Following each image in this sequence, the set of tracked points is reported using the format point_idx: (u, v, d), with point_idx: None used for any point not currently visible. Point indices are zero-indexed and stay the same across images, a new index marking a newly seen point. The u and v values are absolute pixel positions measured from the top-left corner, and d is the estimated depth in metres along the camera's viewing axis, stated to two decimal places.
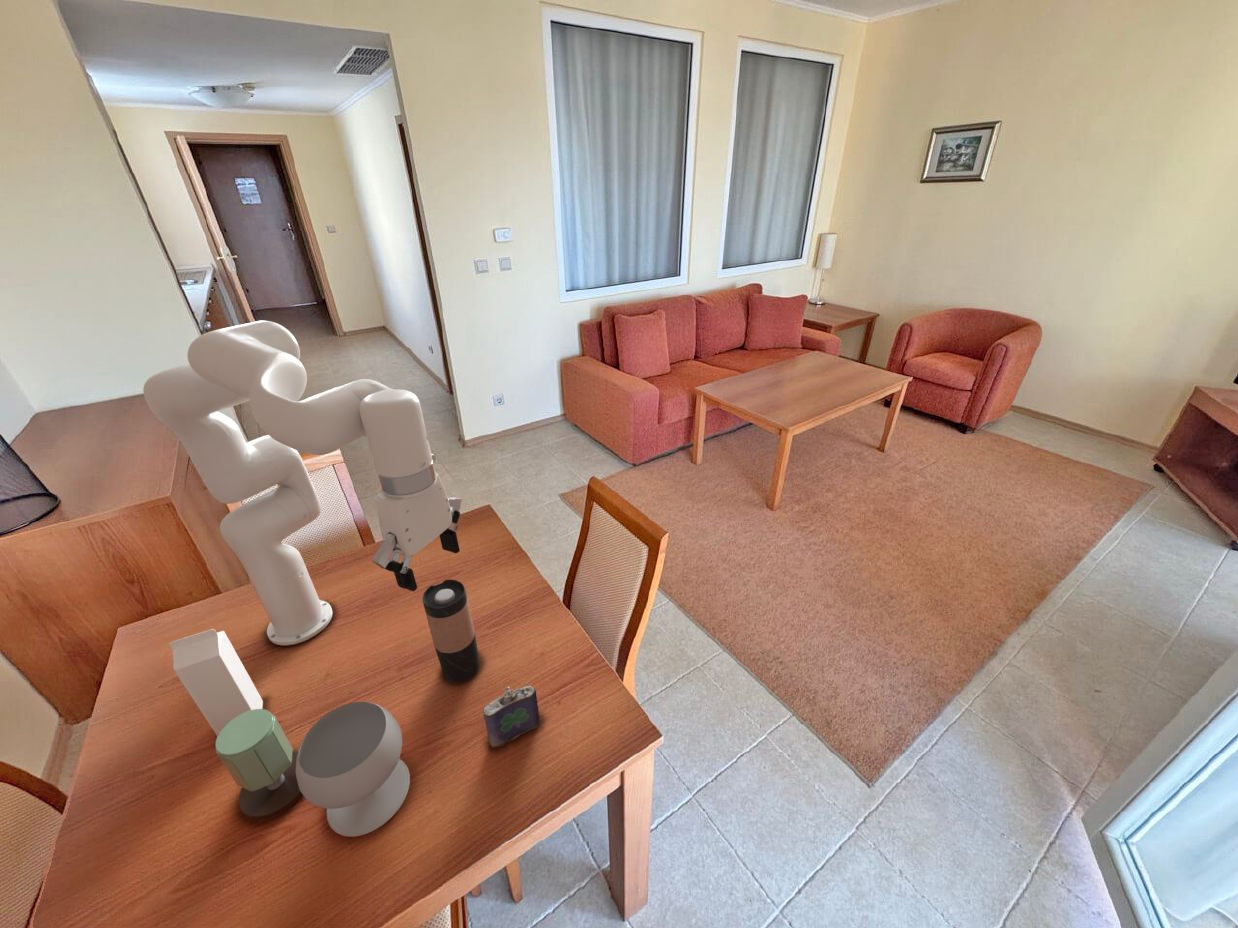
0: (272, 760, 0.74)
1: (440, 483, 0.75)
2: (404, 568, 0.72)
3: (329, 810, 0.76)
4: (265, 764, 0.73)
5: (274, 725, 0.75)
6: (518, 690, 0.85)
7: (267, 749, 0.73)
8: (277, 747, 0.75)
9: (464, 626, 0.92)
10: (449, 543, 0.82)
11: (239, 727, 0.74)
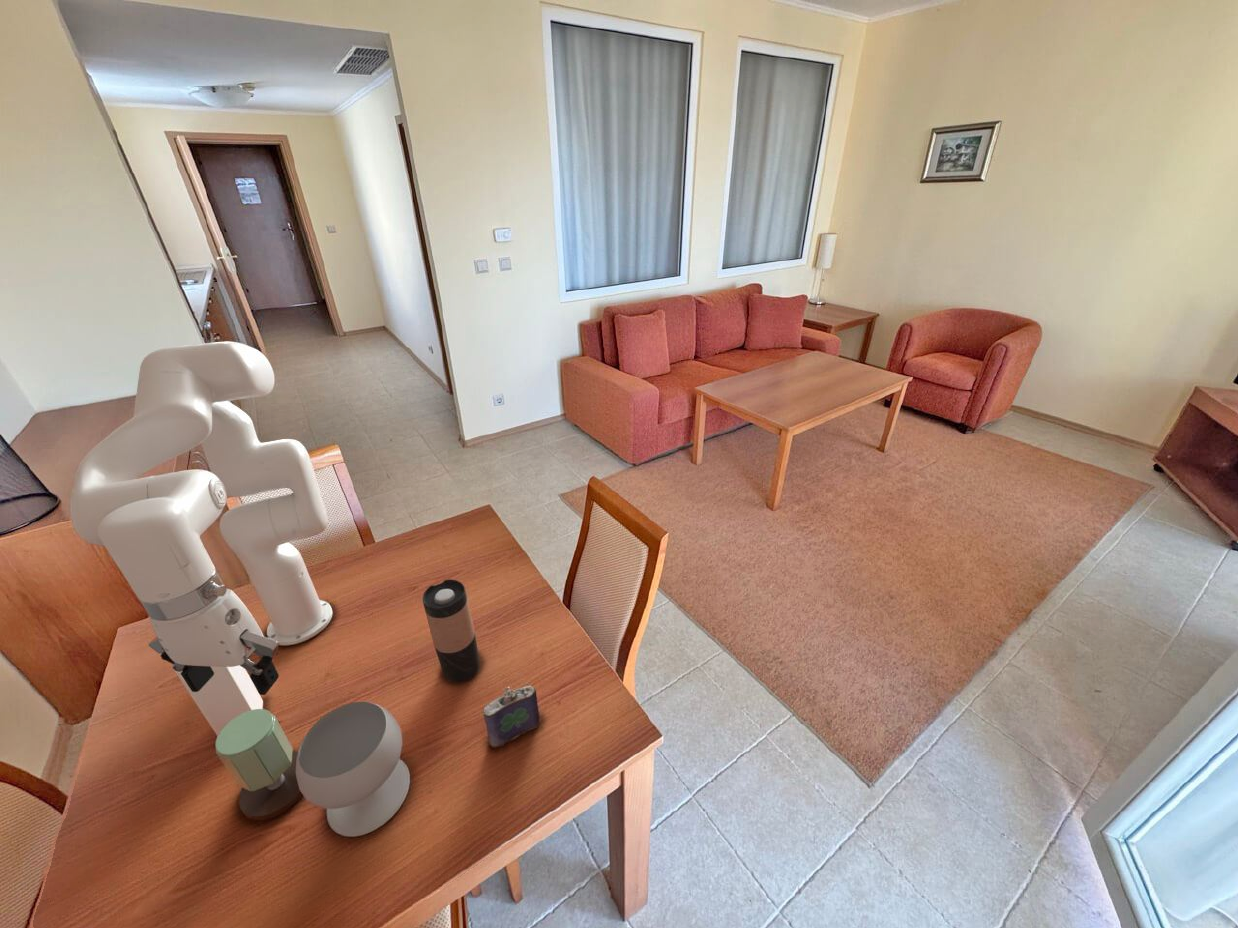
0: (272, 760, 0.74)
1: (208, 622, 0.61)
2: (177, 667, 0.66)
3: (329, 810, 0.76)
4: (265, 764, 0.73)
5: (274, 725, 0.75)
6: (518, 690, 0.85)
7: (267, 749, 0.73)
8: (277, 747, 0.75)
9: (464, 626, 0.92)
10: None
11: (239, 727, 0.74)
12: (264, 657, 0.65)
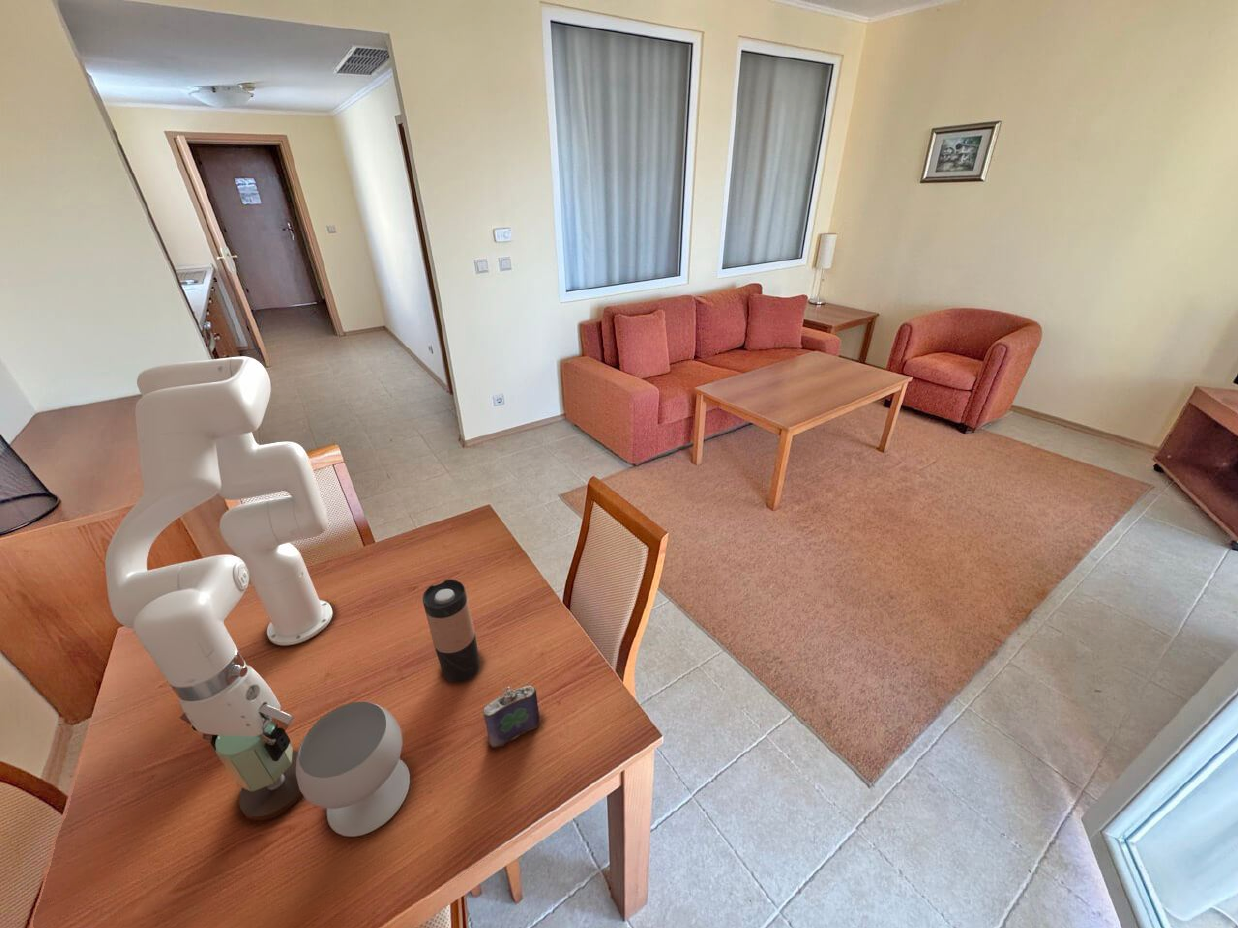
0: (272, 760, 0.74)
1: (231, 700, 0.66)
2: (207, 736, 0.72)
3: (329, 810, 0.76)
4: (265, 764, 0.73)
5: None
6: (518, 690, 0.85)
7: None
8: None
9: (464, 626, 0.92)
10: None
11: None
12: (277, 729, 0.71)
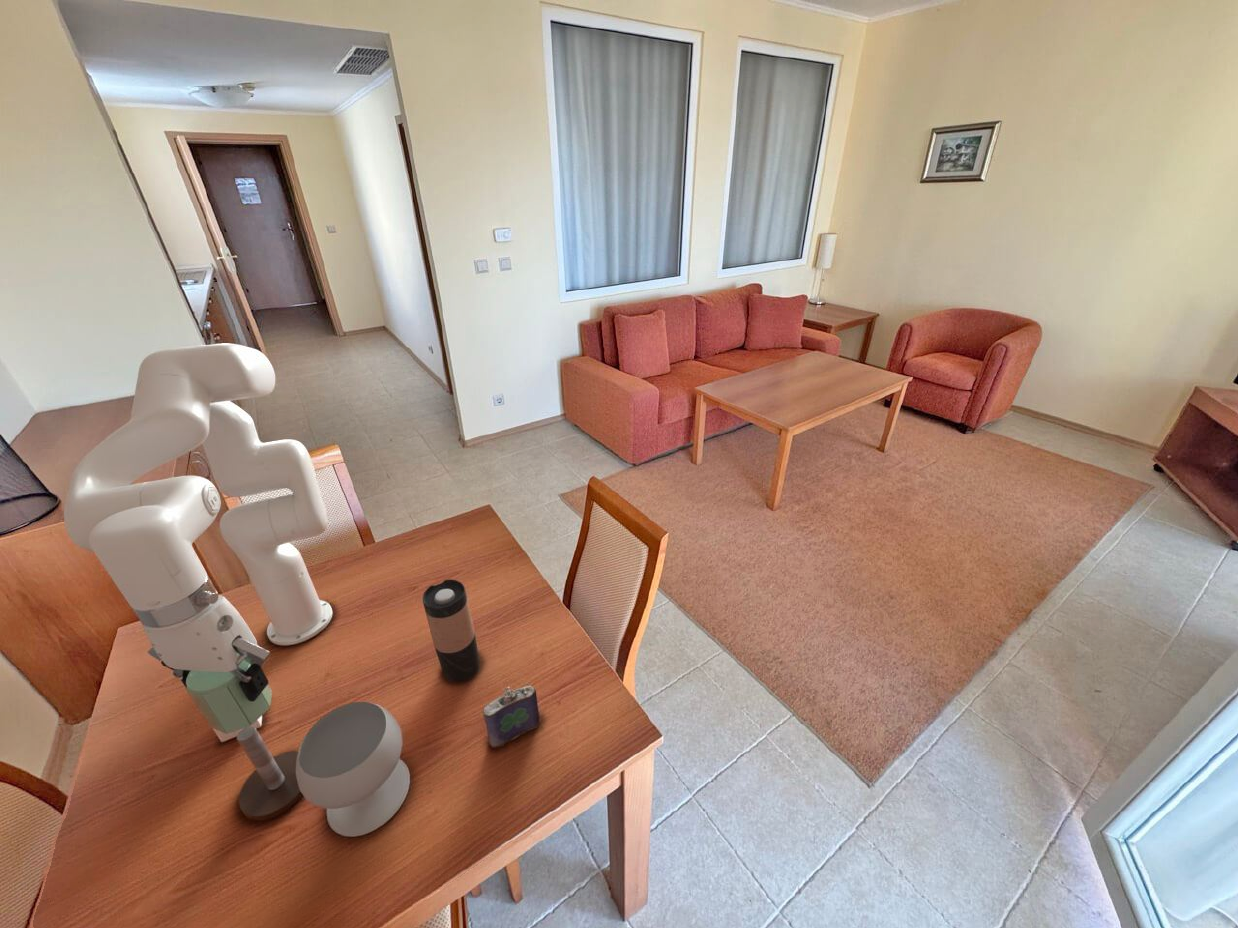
0: (248, 701, 0.69)
1: (200, 629, 0.61)
2: (177, 673, 0.67)
3: (329, 810, 0.76)
4: (240, 704, 0.68)
5: None
6: (518, 690, 0.85)
7: None
8: None
9: (464, 626, 0.92)
10: None
11: None
12: (253, 665, 0.66)
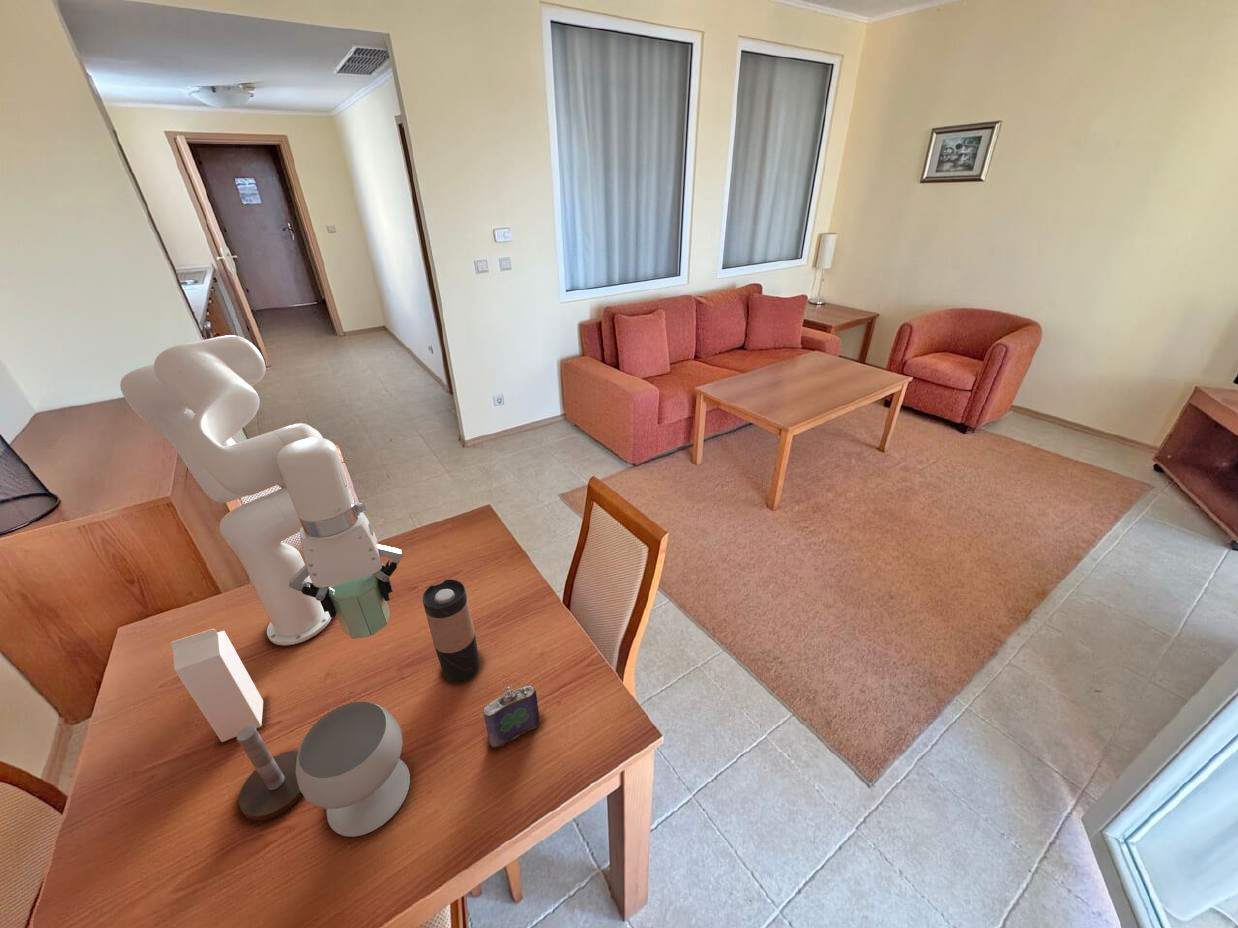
0: (383, 603, 0.84)
1: (362, 533, 0.76)
2: (320, 596, 0.78)
3: (329, 810, 0.76)
4: (380, 605, 0.83)
5: None
6: (518, 690, 0.85)
7: (379, 591, 0.83)
8: None
9: (464, 626, 0.92)
10: None
11: (345, 582, 0.81)
12: (391, 564, 0.82)
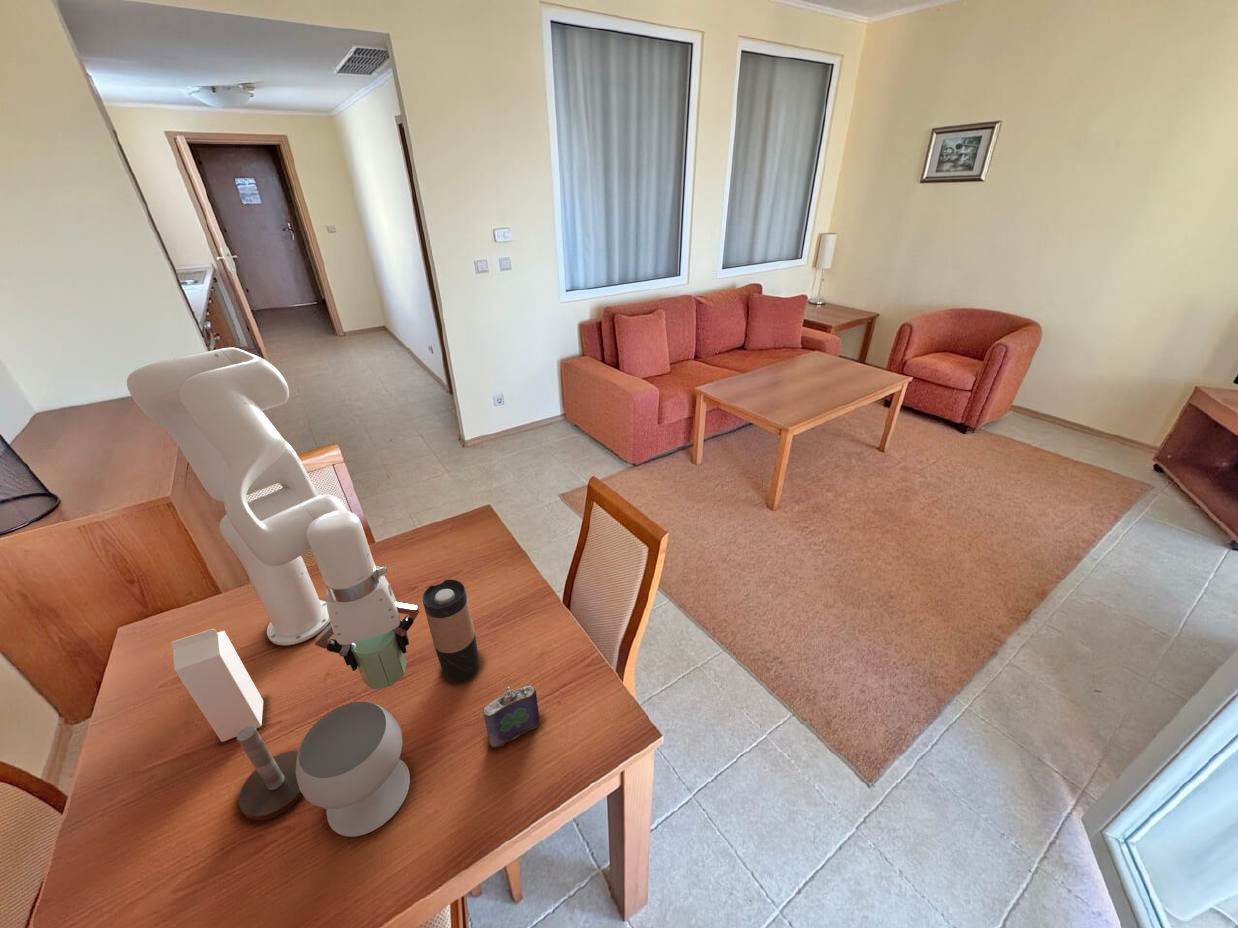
0: (400, 655, 0.90)
1: (382, 595, 0.82)
2: (343, 652, 0.85)
3: (329, 810, 0.76)
4: (398, 657, 0.89)
5: None
6: (518, 690, 0.85)
7: (397, 644, 0.89)
8: None
9: (464, 626, 0.92)
10: None
11: None
12: (408, 619, 0.88)
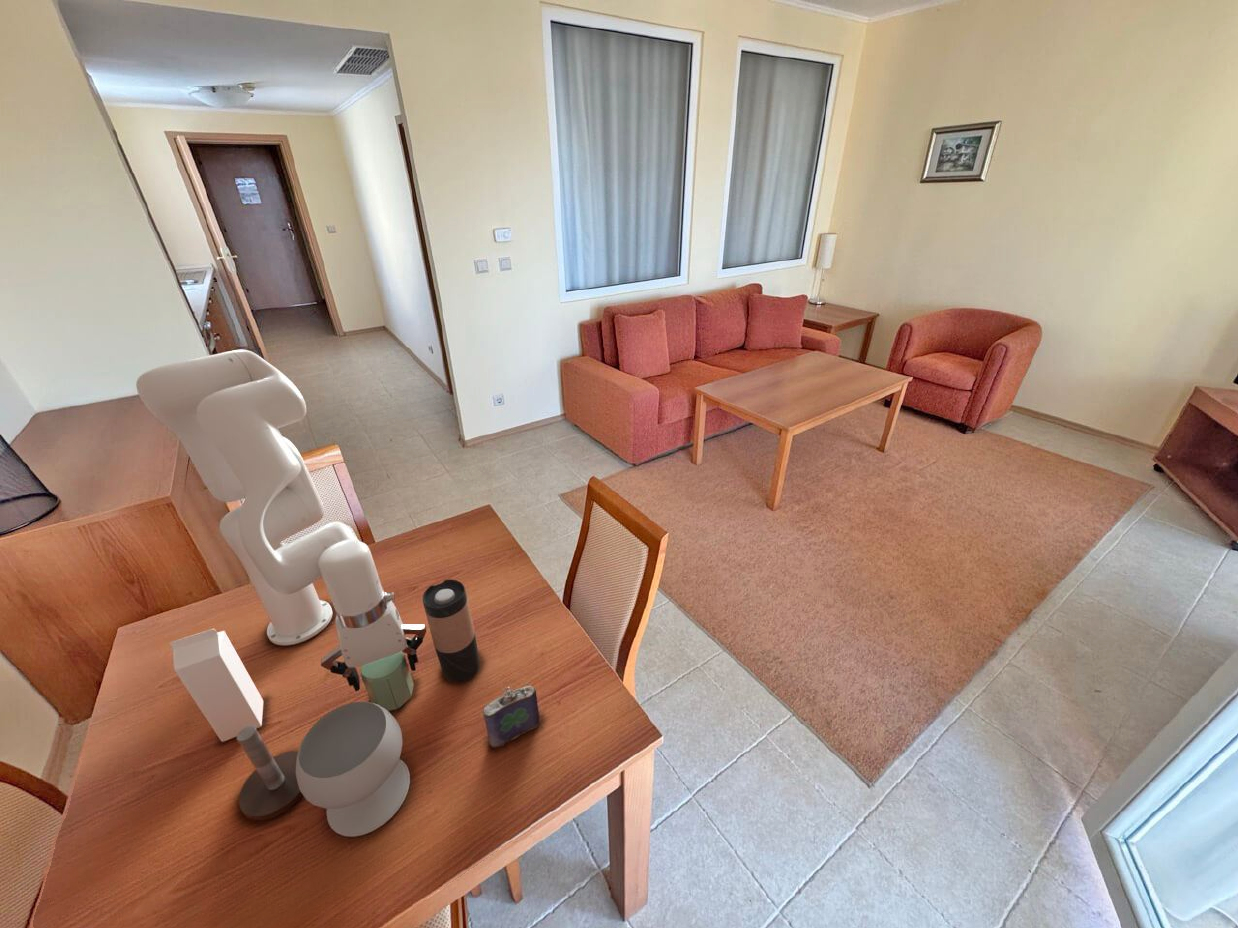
0: (408, 678, 0.93)
1: (390, 620, 0.85)
2: (346, 674, 0.87)
3: (329, 810, 0.76)
4: (406, 681, 0.92)
5: (401, 652, 0.93)
6: (518, 690, 0.85)
7: (405, 668, 0.92)
8: (407, 668, 0.94)
9: (464, 626, 0.92)
10: None
11: (375, 662, 0.90)
12: (418, 638, 0.91)
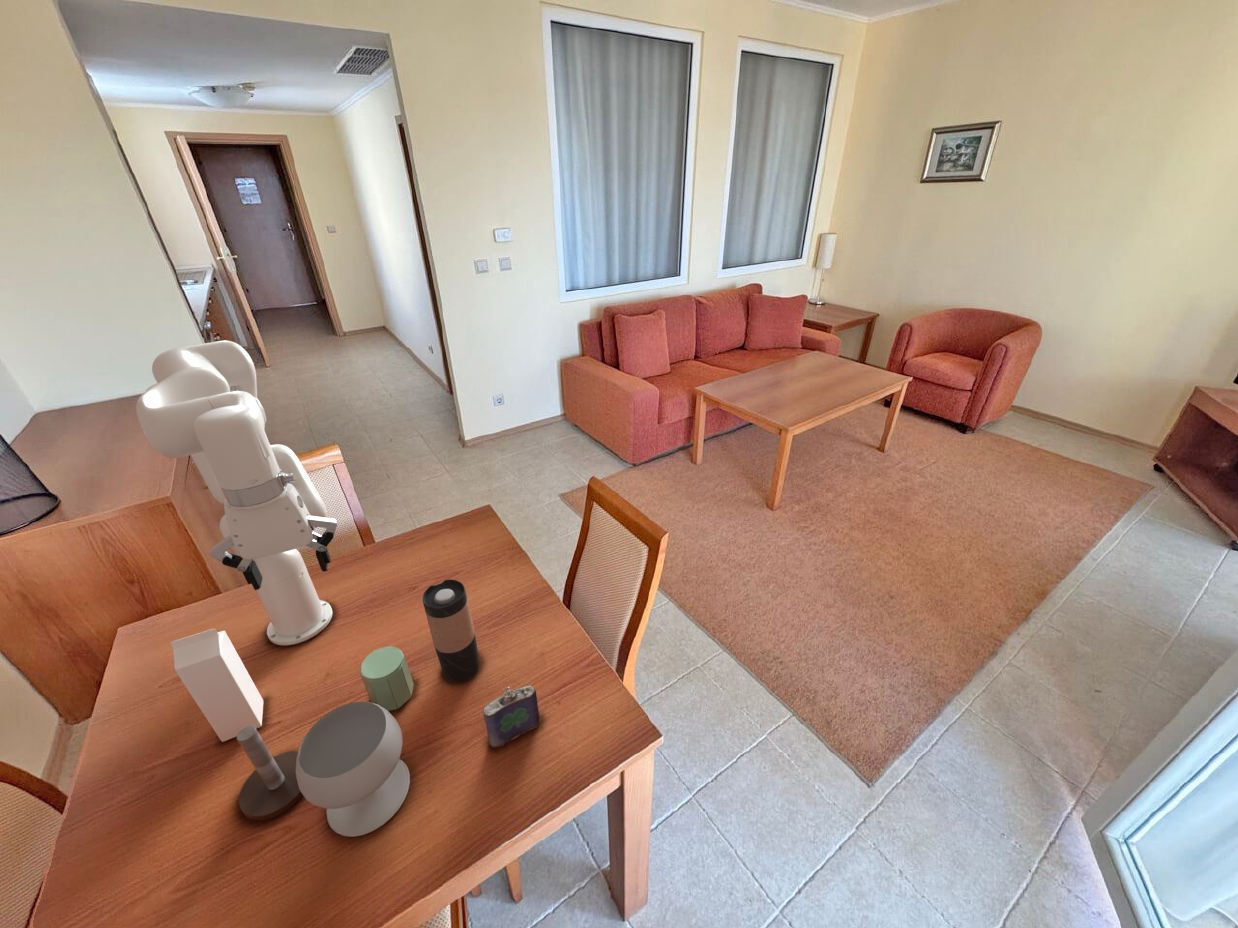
0: (408, 678, 0.93)
1: (288, 504, 0.75)
2: (241, 567, 0.77)
3: (329, 810, 0.76)
4: (406, 681, 0.92)
5: (401, 652, 0.93)
6: (518, 690, 0.85)
7: (405, 668, 0.92)
8: (407, 668, 0.94)
9: (464, 626, 0.92)
10: None
11: (375, 662, 0.90)
12: (328, 533, 0.81)
